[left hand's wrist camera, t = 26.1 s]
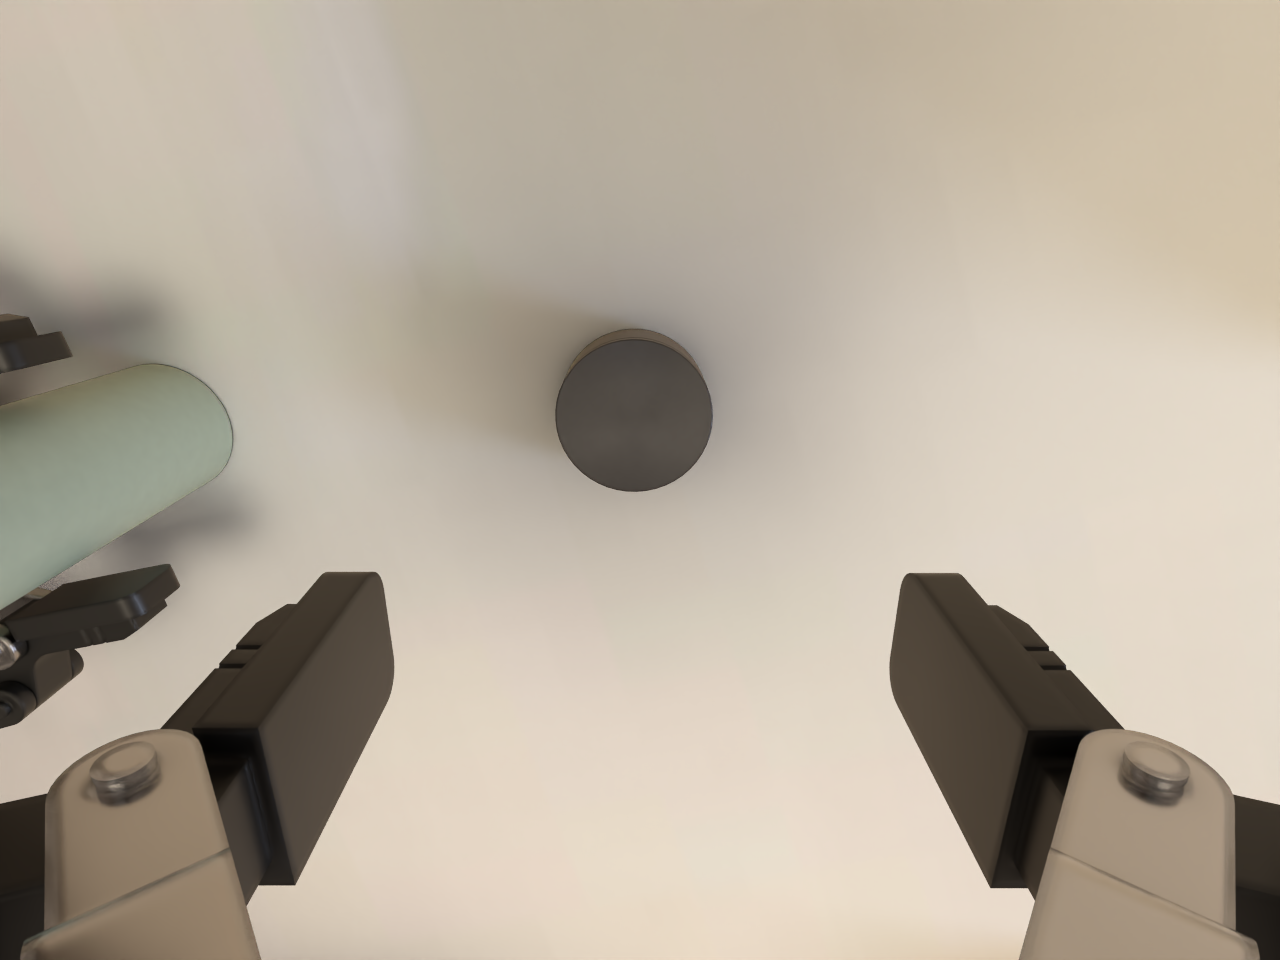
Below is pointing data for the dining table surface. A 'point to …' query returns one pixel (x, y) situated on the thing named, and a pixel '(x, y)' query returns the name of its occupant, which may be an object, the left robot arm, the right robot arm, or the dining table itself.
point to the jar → (99, 465)
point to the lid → (634, 411)
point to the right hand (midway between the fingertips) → (103, 475)
